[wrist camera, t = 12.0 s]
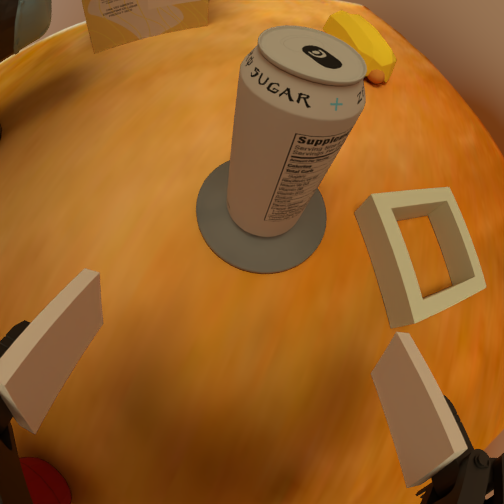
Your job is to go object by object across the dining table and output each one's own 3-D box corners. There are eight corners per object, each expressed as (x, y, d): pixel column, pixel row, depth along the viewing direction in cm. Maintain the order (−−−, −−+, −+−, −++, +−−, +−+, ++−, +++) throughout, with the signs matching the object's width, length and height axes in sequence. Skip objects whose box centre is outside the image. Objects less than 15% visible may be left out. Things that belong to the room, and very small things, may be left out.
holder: (354, 212, 26) (371, 194, 22) (431, 201, 28) (449, 186, 24) (390, 328, 22) (414, 323, 19) (464, 295, 24) (486, 287, 21)
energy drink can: (268, 166, 25) (313, 17, 11) (312, 217, 24) (402, 80, 10) (211, 198, 24) (215, 31, 9) (255, 255, 22) (314, 107, 8)
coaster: (188, 167, 25) (188, 163, 24) (302, 154, 27) (303, 150, 26) (209, 286, 22) (209, 284, 21) (340, 259, 24) (343, 257, 23)
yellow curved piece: (352, 85, 33) (395, 94, 34) (369, 49, 27) (414, 63, 28) (315, 28, 39) (352, 35, 40) (324, -1, 32) (363, 9, 33)
